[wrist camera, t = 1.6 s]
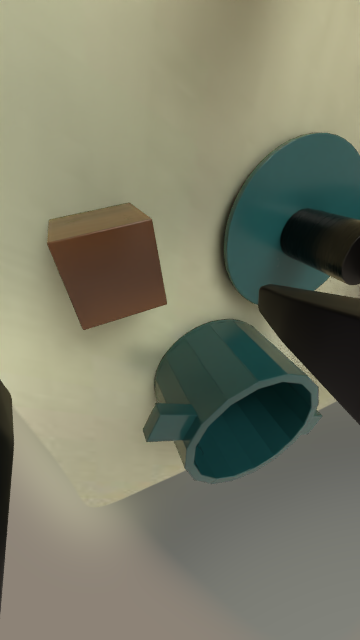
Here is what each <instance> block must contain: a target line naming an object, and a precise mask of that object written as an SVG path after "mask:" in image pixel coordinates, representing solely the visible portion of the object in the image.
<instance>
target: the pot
mask: <svg viewBox="0 0 360 640" xmlns="http://www.w3.org/2000/svg"><path fill="white" fill-rule="evenodd" d="M154 387H155V393H156V399H157V401H158V403H156V404H155V406H154V408H153V410H152V412H151V414H150V416H149V418H148V420H147V422H146V424H145V426H144V428H143V432H144V435H145V439H146V442H158V441H174V443H175V445H176V448H177V450H178V453H179V455H180V458H181V460H182V463H183V465H184V468H185V469H186V470H187V472H188V473H189V474H190V476H191V477H192V478H193V480H196V481H200V482H204V483H208V484H216V483H222V482H228V481H233V480H235V479H238V478H240V477H243V476H245V475H248V474H250V473H253V472H255V471H257V470H258V469H260V468H261V467H263V466H265V465H266V464H268V463H269V462H271V461H272V460H274V459H276V458H277V457H278V456H279V455H280V454H281V453H283V452H284V451H285V450H286V449H287V448H288V447H289V446H291V445H292V444H293V443H294V442H295V441H296V440H297V439H298V437H299V436H300V435H302V434H308V433H309V432H310V431H311V430H312V429H313V427H314V426H315V425H316V424H317V422H318V421H319V420H320V419H321V417H322V415H321V414H320V413H319V412H318V411H317V410H316V409H317V406H318V404H319V400H318V386H317V385H316V384H315V383H314V382H313V381H312V380H311V379H310V378H309V377H308V376H307V375H306V374H305V373H304V372H303V371H302V370H301V369H299V368H298V367H297V366H296V365H295V364H294V363H293V362H292V361H291V360H289V359H288V358H287V357H286V356H285V355H284V354H283V353H282V352H281V351H280V350H278V349H277V348H276V347H275V346H274V345H273V344H272V343H271V342H270V341H268V340H267V339H266V338H265V337H264V336H263V335H262V334H261V333H260V332H258V331H257V330H256V329H255V328H254V327H253V326H252V325H249V324H247V323H246V322H243V321H240V320H234V319H224V320H217V321H212V322H209V323H206V324H203V325H201V326H199V327H197V328H195V329H193V330H191V331H190V332H188V333H187V334H185V335H184V336H183V337H181V338H180V339H179V340H178V341H177V342H176V343H175V344H173V346H172V347H171V348H170V349H169V350H168V351H167V353H166V354H165V355H164V357H163V358H162V360H161V362H160V364H159V366H158V369H157V371H156V375H155V382H154Z"/></svg>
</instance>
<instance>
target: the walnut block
mask: <svg viewBox="0 0 360 640" xmlns="http://www.w3.org/2000/svg"><path fill="white" fill-rule="evenodd" d="M47 245H48V247H49V250H50V252H51V255H52V257H53V259H54V262H55V264H56V266H57V269H58V271H59V274H60V276H61V278H62V281H63V283H64V286H65V288H66V290H67V293H68V295H69V298H70V300H71V302H72V305H73V307H74V310H75V312H76V314H77V317H78V319H79V321H80V324H81V326H82V329H83V330H86V329H89V328H92V327H95V326H99V325H102V324H105V323H108V322H111V321H115V320H118V319H121V318H124V317H127V316H130V315H134V314H137V313H140V312H143V311H146V310H150V309H153V308H156V307H159V306H162V305H166V304H167V300H166V294H165V289H164V283H163V278H162V272H161V267H160V261H159V256H158V250H157V244H156V239H155V233H154V228H153V222H152V219H151V218H150V217H148V216H147V215H146V214H144V213H143V212H142V211H140V210H139V209H138V208H136V207H135V206H133V205H132V204H131V203H125V204H121V205H116V206H111V207H106V208H102V209H97V210H92V211H88V212H83V213H78V214H74V215H69V216H64V217H60V218H55V219H50V220H49V226H48V239H47Z"/></svg>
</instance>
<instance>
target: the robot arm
mask: <svg viewBox="0 0 360 640" xmlns="http://www.w3.org/2000/svg"><path fill="white" fill-rule="evenodd" d="M258 308H259V311H260V313H261V314H262V315H263V317H264V318H265V319H266V321H267V322H268V323H269V325H270V326H271V328H272V329H273V330H274V332H275V333H276V334H277V336H278V337H279V338H280V339H281V341H282V342H283V343H284V344H285V345H286V346H287V347H288V348H289V350H290V351H291V352H292V353H293V354H294V355H295V356H296V357H297V358H298V359H299V360H300V361H301V362H302V364H303V365H304V366H305V367H306V368H307V369H308V370H309V371H310V372H311V373H312V374H313V375H314V376H315V377H316V379H317V380H318V381H319V382H320V383H321V384H322V385H323V386H324V387H325V388H326V389H327V390H328V391H329V393H330V394H331V395H332V396H333V397H334V398H335V399H336V400H337V401H338V402H339V403H340V404H341V405H342V407H343V408H344V409H345V410H346V411H347V412H348V413H349V414H350V415H351V416H352V417H353V418H354V419H355V420H356V422H358V424H359V425H360V299H358V298H352V297H346V296H340V295H335V294H329V293H323V292H317V291H311V290H305V289H299V288H293V287H287V286H281V285H275V284H268V285H265V286H262V287H260V289H259V298H258ZM13 451H14V434H13V415H12V398H11V395H10V393H9V391H8V390H7V388H6V387H5V386H4V384H3V383H2V382H1V380H0V611H1V598H2V586H3V574H4V562H5V550H6V537H7V525H8V513H9V501H10V500H9V499H10V488H11V476H12V464H13Z"/></svg>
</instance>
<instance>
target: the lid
mask: <svg viewBox="0 0 360 640" xmlns="http://www.w3.org/2000/svg"><path fill="white" fill-rule="evenodd" d="M224 260H225V266H226V270H227V273H228V276H229V279H230V281H231V283H232V285H233V286H234V287H235V289H236V290H237V291H238V292H239V293H240V294H241V295H242V296H243V297H244V298H245V299H247V300H249V301H250V302H252V303H254V304H257V305H258V298H259V289H260V287H262V286H265V285H268V284H275V285H281V286H287V287H293V288H299V289H305V290H311V291H314V290H316V289H317V288H318V287H319V286H321V285H322V284H323V283H324V282H325V281H326V280H327V279H328V278H329V277H330V276H331V277H333V278H336V279H338V280H340V281H342V282H344V283H346V284H349V285H356V284H360V155H359V154H358V152H357V150H356V149H355V148H354V147H353V146H352V144H350V143H349V142H348V141H347V140H345V139H344V138H342V137H340V136H337V135H334V134H330V133H311V134H306V135H301V136H299V137H296V138H293V139H291V140H289V141H287V142H285V143H284V144H282V145H280V146H279V147H277V148H276V149H275V150H274V151H272V152H271V153H270V154H268V155H267V156H266V157H265V158H264V159H263V160H262V161H261V162H260V163H259V164H258V165H257V167H256V168H255V169H254V170H253V172H252V173H251V174H250V175H249V177H248V178H247V180H246V181H245V183H244V184H243V186H242V188H241V190H240V191H239V193H238V195H237V197H236V199H235V201H234V204H233V206H232V209H231V211H230V215H229V218H228V221H227V225H226V231H225V236H224Z"/></svg>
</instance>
